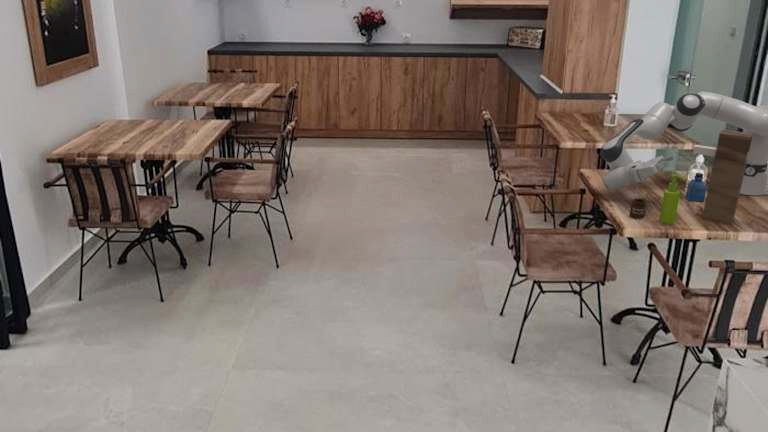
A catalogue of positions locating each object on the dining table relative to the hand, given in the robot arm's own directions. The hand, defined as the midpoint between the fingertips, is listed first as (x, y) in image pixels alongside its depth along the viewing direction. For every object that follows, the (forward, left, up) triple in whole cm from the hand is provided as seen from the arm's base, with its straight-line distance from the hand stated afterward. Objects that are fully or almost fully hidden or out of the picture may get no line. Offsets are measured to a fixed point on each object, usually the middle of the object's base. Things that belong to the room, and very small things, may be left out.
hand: (670, 160), depth 275 cm
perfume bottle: (-20, +10, -22) cm, 31 cm away
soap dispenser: (+16, +6, -22) cm, 27 cm away
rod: (0, +18, +5) cm, 18 cm away
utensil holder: (+17, -6, -22) cm, 28 cm away
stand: (0, +22, -21) cm, 31 cm away
